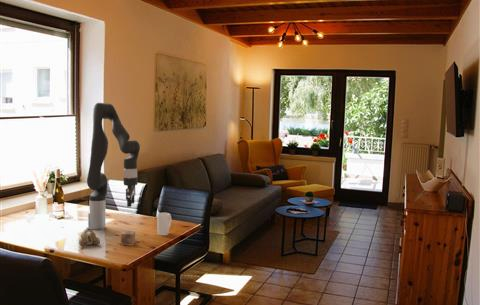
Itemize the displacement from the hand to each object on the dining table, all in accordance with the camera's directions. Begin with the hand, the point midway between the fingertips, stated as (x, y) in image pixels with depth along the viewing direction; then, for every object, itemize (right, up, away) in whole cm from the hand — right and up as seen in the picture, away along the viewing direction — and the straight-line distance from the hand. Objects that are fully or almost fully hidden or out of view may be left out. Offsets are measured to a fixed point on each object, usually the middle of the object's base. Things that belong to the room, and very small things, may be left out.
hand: (130, 204), depth 253 cm
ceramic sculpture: (-20, -20, -11) cm, 30 cm away
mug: (+17, -18, +12) cm, 28 cm away
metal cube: (0, -20, -8) cm, 21 cm away
